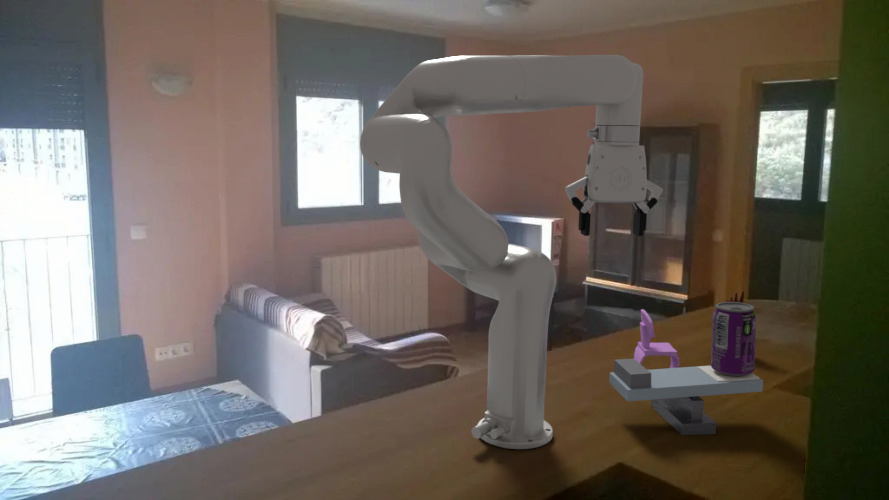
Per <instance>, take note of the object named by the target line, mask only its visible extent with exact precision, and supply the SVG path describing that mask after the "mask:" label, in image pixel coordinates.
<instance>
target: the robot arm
mask: <svg viewBox="0 0 889 500" xmlns="http://www.w3.org/2000/svg"><path fill="white" fill-rule="evenodd" d="M643 85H644V70H643V67H642V66H641V65H640V64H638V63H636V62H632V61H631V60H630V59H628V58H627V57H625V56H623V55H620V54H590V55H589V54H587V55H586V54H585V55H583V54H582V55H578V54H577V55H548V54H547V55H546V54H544V55H543V54H542V55H541V54H538V55H537V54H536V55H535V54H533V55H532V54H530V55H529V54H527V55H526V54H525V55H524V54H523V55H518V54H517V55H457V56H456V55H455V56H449V57H448V56H447V57H443V58H438V59H437V58H436V59H430V60H426V61H422V62H420V63H419V64H417V65H416V66H414V68H413V69H411V71H409V73H407V75H405V77H404V78H403V79H402V80H401V81H400V83H399V84H397V86H396V87H395V88H394V89H393V90H392V92H391V93H390V94H389V95H388V96H387V98H385V100H384V101H383V102H382V104H381V105H380V106H379V107H378V108H377V110H375V112H374V113H373V114H372V115H371V116H370V118H369V119H368V120H367V122H366V123H365V126H363V129H362V131H361V135H360V138H359V139H360V141H359V149H360V152H361V154H362V157H363V159H364V160H365V162H366V163H367V164H368V165H369V166H370V167H372V168H373V169H375V170H376V171H380V172H382V173H383V172H384V173H389V174H399V182H398V183H399V196H400V197H399V198H400V204H401V208H402V211H403V214H404V216H405V218H406V220H407V221H408V222H409V223H410V224H411V225H412V226H413V227H414V228H415V229H416V230H417V231H418V232H417V239H418V245H419V247H420V249H421V252H422V253H423V254H424V256H425V257H426V258H427V259H428V260H429V261H430V262H431V263H432V264H434V265H435V266H436V267H437V268H439V269H440V270H441V271H443V272H444V273H446V274H447V275H448V276H449V277H450V278H453V279H454V280H455V281H457V282H458V283H459V284H461V285H462V286H464V287H465V288H467V289H469V290H470V291H471V292H474V293H475V294H478V295H481V296H484V297H487V298H491V299H494V300H496V301H498V304H497V307H496V309H495V312H494V314H493V316H492V318H491V320H490V324H489V329H488V351H487V352H488V354H487V355H488V356H487V357H488V358H487V384H486V385H487V389H486V391H487V392H486V394H487V395H486V411H485V412H484V417H483V418H481V419H480V420H479V421H478V423H477V425H475V426H472V428H471V431H470V432H471V433H470V434H471V435H472V437H473V438H474V439H477V440H478V439H481V440H482V441H484V442H486V443H487V444H490V445H492V446H495V447H499V448H503V449H509V450H511V449H512V450H530V449H534V448H535V449H536V448H539V447H542V446H544V445H547V444H548V443H550V441H551V440H552V439H553V432H554V429H553V426H551V424H550V423H549V422H547V421H546V420H545V405H546V404H545V403H546V402H545V399H546V378H547V377H546V375H547V356H548V355H547V352H548V348H547V347H548V330H549V329H548V328H549V319H550V318H549V317H550V311H551V306H552V301H553V297H554V294H555V290H556V289H555V288H556V283H557V272H556V268H555V266H554V263H553V261H552V260H551V259H550V258H549V257H548V256H547V254H545V253H543V252H541V251H540V250H538V249H535V248H532V247H527V246H523V245H519V244H514V243H509V238H508V235H507V233H506V231H505V230H504V228H503V226H502V225H501V224H500V223H499V222H498V221H497V219H496V218H494V217H493V216H491V215H490V214H489V213H487V212H486V211H485V210H484V209H482V208H481V207H480V206H479V205H477V203H475V202H474V201H473V200H472V199H470V198H469V197H468V196H467V195H466V194H465V193H464V192H463V191H462V190H461V189H460V188H459V187H458V186H457V184H455V181H454V178H453V172H452V171H453V169H452V165H453V164H452V163H453V162H452V161H453V160H452V159H453V144H452V143H453V142H452V139H451V134H450V133H449V130H448V129H447V127H446V125H445V124H444V123H443V122H442V121H440V119H438V117H459V116H460V117H461V116H462V117H463V116H482V115H495V114H496V115H497V114H513V113H528V112H529V113H530V112H542V111H543V112H544V111H548V110H555V109H561V108H562V109H563V108H571V107H572V108H574V107H584V106H586V107H587V106H596V107H595V108H596V109H595V110H596V111H595V126H594V127H593V128H592V129H587V132H586V137H587V138H591V139H592V140H593V142H594V144H591V145H590V146H589V147H590V148H589V151H588V156H587V161H586V164H585V172H584V177H582V178H580V179H578V180H576V181H575V182H572V183H569V184H568V185H567V186H565V188H564V190H565V193H566V195H567V198H568V199H569V202H570V203H571V204H572V206H573V207H574V208H575V209H576V211H577V212H578V224H577V225H578V231H579V232H580V234H581V235H583V236H585V237H589V236H590V234H591V218H592V217H591V213H590V211H589V210H590V209H591V208H592V207H593V206H594V205H595V204H596V203H599V204H600V203H603V204H632V205H633V206H634V208H635V209H636V211H634V213H633V221H632V222H633V224H632V234H633V235H635V236H638V237H643V236H644V232H645V231H646V229H647V214H648V213H650V212H651V211H650V210H652V208H654V206H656V204H657V203H658V200H659V199H660V198H661V196H662V193H663V191H664V189H663V187H661V186H659V185H658V184H656V183H654V182H653V181H650V180H649V179H647V178H648V176H647V175H648V173H647V159H646V152H645V151H646V150H645V145H640V135H641V133H640V131H641V116H642V101H643ZM582 188H583V197H584V198H583V199H582V200H580V198H578V194H577V191H578V190H580V189H582ZM648 190H649V191H650V195H649V197H647V193H648ZM646 198H647V199H646Z"/></svg>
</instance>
